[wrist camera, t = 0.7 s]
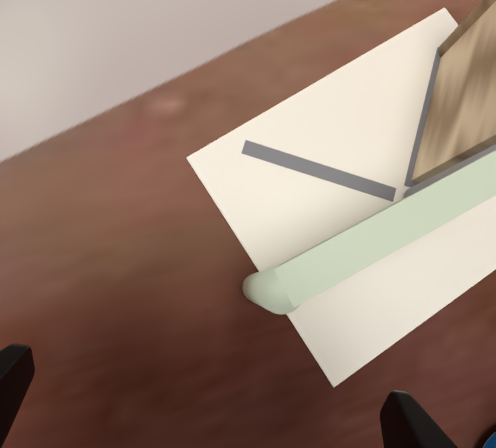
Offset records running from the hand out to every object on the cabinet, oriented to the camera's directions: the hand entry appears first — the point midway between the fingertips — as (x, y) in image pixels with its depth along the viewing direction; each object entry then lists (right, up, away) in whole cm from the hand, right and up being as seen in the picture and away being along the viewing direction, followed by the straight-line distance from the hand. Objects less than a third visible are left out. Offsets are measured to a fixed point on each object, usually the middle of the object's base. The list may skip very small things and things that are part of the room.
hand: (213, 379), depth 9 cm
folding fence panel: (+7, +3, +16) cm, 17 cm away
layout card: (+11, +7, +17) cm, 22 cm away
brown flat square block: (+15, +12, +18) cm, 26 cm away
